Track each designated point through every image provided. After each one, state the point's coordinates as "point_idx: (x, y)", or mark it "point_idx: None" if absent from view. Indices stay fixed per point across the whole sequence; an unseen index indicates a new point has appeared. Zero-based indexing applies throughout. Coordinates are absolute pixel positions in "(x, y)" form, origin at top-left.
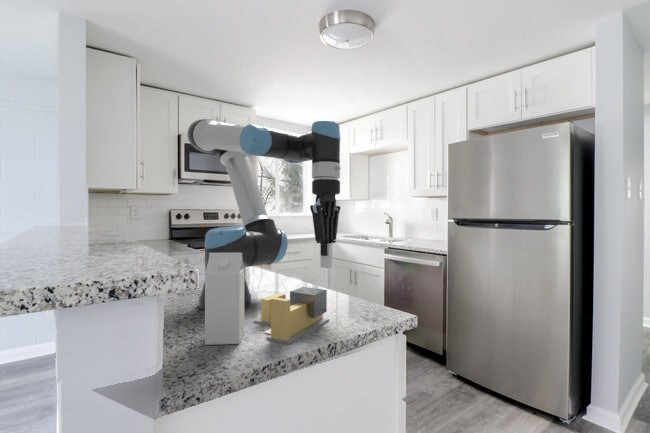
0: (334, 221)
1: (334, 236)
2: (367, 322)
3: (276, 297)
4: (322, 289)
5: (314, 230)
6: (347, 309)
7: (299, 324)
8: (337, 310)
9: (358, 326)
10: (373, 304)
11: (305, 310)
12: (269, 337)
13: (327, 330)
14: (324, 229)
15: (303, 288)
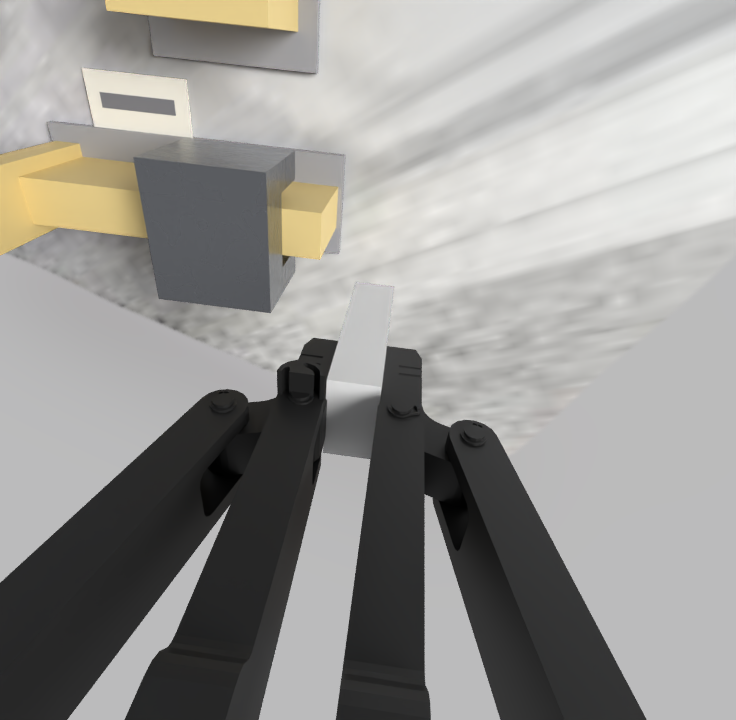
0: (497, 682)
1: (437, 511)
2: None
3: (176, 16)
4: (268, 292)
5: (130, 466)
6: (517, 269)
7: None
8: (489, 234)
9: None
10: (624, 345)
11: None
12: (51, 135)
13: None
14: (189, 554)
15: (232, 195)
